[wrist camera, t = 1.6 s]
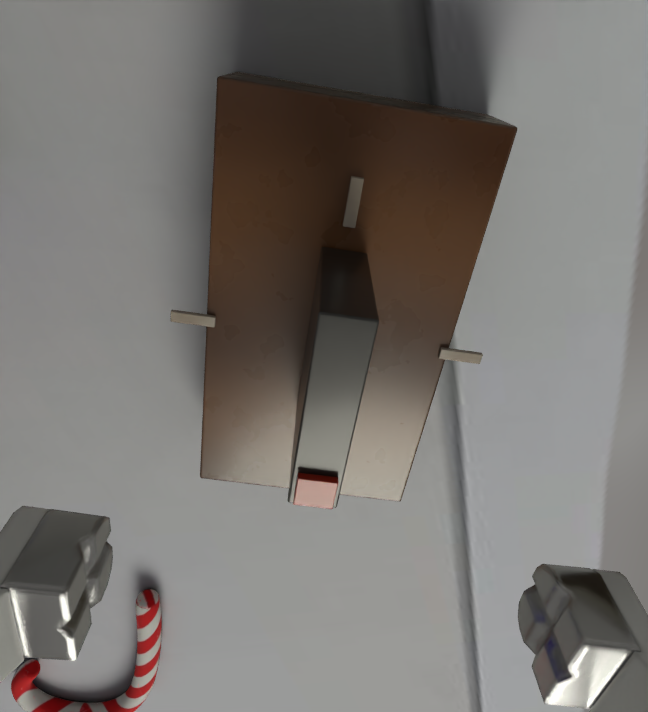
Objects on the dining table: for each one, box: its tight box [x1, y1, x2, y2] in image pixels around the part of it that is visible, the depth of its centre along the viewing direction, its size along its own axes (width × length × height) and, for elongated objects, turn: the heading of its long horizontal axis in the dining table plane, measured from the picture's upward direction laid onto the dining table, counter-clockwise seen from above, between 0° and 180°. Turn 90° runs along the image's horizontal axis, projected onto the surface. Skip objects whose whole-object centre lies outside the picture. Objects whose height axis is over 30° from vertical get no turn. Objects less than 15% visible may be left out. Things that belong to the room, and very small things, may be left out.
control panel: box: [171, 72, 517, 501], centre depth 18 cm, size 14×10×3 cm
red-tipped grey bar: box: [288, 247, 379, 509], centre depth 15 cm, size 6×1×5 cm, turn 171°
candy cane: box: [11, 589, 162, 712], centre depth 31 cm, size 8×1×15 cm
